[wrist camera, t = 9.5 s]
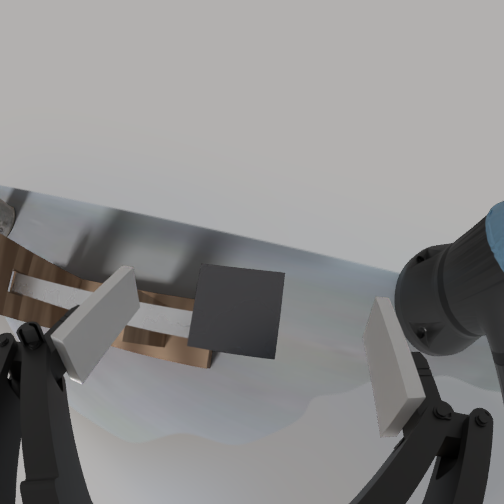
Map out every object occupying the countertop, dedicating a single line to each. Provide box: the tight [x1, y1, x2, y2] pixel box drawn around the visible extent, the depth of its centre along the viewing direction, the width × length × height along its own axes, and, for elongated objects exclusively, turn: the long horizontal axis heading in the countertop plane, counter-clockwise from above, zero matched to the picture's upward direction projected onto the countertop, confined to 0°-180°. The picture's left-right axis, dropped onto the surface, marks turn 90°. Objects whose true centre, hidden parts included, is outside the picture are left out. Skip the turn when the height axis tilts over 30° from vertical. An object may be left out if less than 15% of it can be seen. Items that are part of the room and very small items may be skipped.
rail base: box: [0, 233, 212, 369], centre depth 28 cm, size 30×8×19 cm, turn 82°
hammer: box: [12, 264, 285, 359], centre depth 17 cm, size 28×3×13 cm, turn 82°
